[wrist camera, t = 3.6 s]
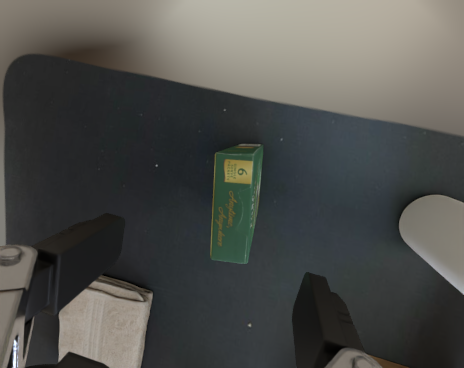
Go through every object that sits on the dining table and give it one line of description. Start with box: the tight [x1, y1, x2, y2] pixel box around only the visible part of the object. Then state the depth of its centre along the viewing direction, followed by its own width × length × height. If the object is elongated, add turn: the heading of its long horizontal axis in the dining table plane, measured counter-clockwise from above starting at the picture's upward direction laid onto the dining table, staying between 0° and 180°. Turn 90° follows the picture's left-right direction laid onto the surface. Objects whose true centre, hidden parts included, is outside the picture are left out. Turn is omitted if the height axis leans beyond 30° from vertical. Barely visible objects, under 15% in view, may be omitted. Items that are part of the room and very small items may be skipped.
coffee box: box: [211, 144, 264, 264], centre depth 24 cm, size 8×3×13 cm, turn 176°
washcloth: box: [58, 275, 153, 368], centre depth 37 cm, size 12×18×3 cm, turn 169°
